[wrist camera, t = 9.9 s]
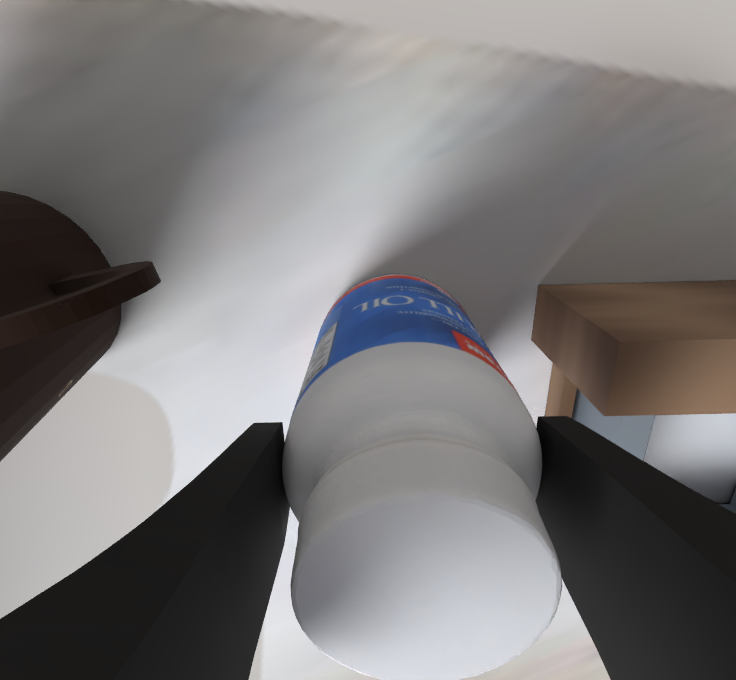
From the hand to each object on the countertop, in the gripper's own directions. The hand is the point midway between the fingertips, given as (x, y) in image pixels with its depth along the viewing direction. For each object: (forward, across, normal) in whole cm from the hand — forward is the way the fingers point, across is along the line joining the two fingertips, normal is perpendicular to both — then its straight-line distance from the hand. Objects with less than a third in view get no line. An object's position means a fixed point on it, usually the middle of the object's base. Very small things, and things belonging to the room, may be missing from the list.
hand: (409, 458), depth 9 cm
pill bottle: (+7, 0, 0) cm, 7 cm away
